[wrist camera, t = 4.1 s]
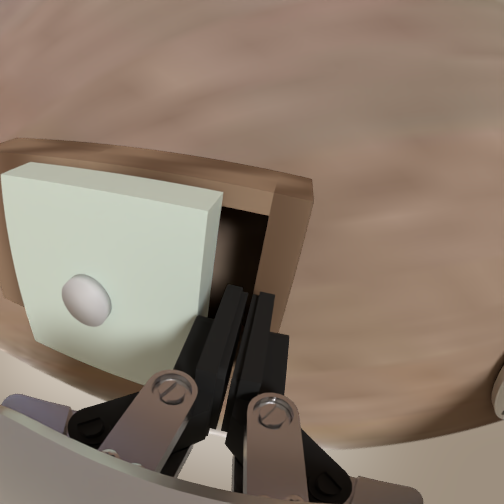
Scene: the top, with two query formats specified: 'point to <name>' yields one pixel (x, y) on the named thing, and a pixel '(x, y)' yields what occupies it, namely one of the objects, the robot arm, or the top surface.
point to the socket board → (192, 174)
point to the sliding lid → (111, 263)
